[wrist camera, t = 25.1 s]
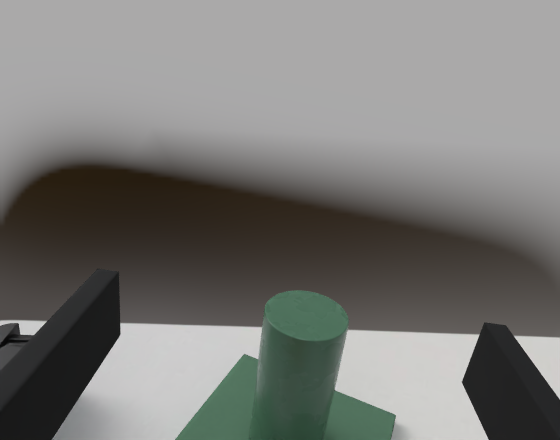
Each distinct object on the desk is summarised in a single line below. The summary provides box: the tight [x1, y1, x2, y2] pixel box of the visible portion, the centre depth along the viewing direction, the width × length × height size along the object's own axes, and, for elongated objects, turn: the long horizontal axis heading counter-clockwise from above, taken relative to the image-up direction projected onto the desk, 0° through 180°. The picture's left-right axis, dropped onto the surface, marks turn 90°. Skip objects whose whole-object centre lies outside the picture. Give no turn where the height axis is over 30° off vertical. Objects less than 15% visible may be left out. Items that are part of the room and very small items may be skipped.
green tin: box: [249, 291, 349, 440], centre depth 32 cm, size 6×6×13 cm
